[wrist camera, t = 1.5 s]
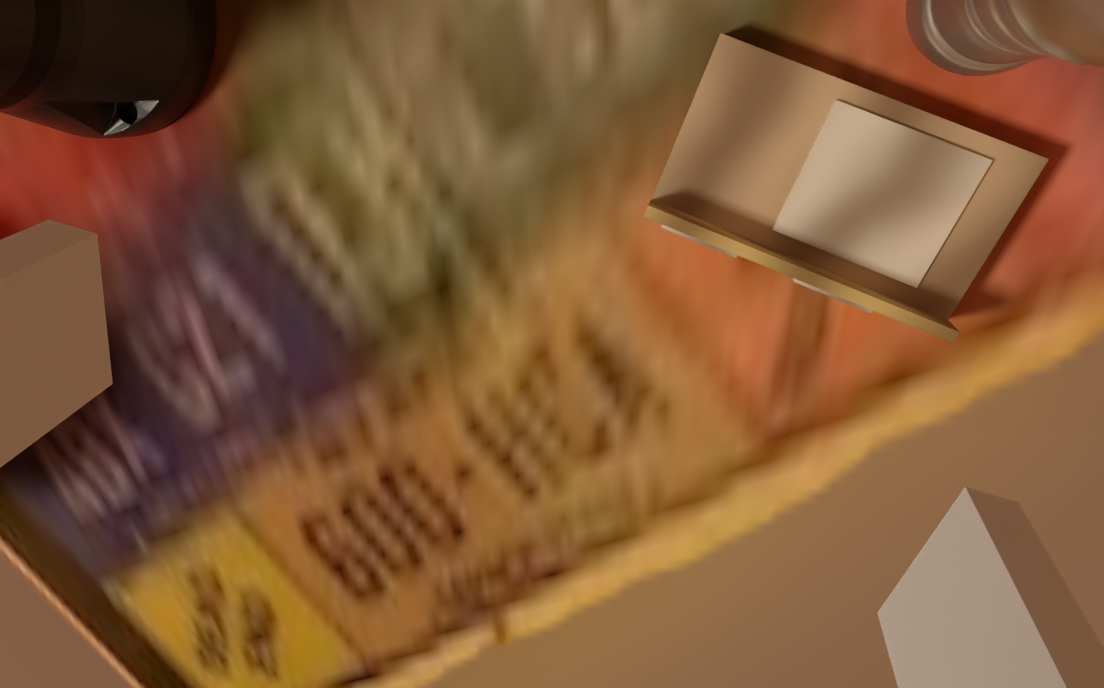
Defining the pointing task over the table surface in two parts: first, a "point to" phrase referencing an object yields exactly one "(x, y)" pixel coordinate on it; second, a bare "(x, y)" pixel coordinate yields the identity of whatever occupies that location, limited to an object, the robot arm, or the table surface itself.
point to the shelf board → (839, 186)
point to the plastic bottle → (1005, 32)
